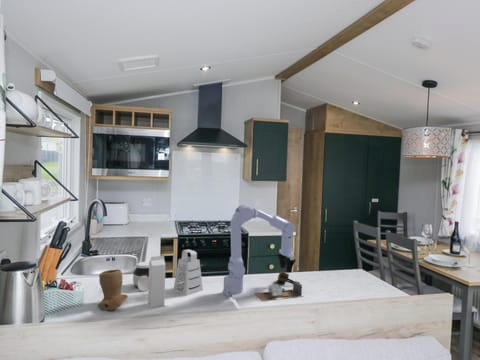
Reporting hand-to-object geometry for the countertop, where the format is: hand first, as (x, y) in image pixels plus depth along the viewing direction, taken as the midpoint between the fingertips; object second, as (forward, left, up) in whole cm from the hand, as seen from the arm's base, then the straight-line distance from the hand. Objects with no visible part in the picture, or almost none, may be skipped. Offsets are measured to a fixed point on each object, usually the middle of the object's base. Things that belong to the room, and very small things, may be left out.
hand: (285, 269), depth 172 cm
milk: (-66, -4, -10) cm, 67 cm away
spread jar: (-70, +19, -10) cm, 74 cm away
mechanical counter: (+4, +4, -10) cm, 12 cm away
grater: (-49, +10, -10) cm, 51 cm away
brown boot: (-85, +1, -10) cm, 86 cm away
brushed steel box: (-9, -11, -9) cm, 16 cm away
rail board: (-8, -10, -10) cm, 16 cm away
